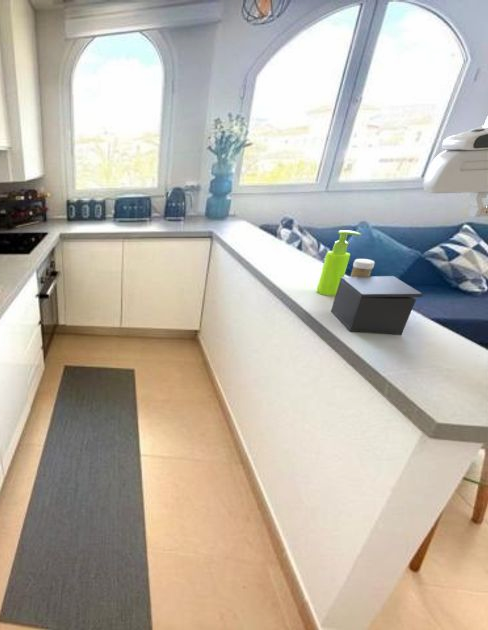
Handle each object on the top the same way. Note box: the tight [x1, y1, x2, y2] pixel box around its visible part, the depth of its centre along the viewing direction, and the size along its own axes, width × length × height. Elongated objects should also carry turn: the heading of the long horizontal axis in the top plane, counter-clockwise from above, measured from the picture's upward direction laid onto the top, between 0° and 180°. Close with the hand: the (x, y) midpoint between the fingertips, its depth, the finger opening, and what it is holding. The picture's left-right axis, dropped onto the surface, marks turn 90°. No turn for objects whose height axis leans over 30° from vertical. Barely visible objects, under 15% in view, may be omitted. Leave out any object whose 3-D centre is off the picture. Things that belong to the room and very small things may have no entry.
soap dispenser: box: [316, 230, 362, 297], centre depth 107 cm, size 6×7×20 cm
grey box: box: [330, 280, 417, 336], centre depth 91 cm, size 11×13×10 cm
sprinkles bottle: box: [349, 258, 376, 277], centre depth 101 cm, size 5×5×13 cm
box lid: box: [340, 275, 423, 298], centre depth 89 cm, size 12×13×1 cm
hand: (480, 216), depth 66 cm, fingers closed
